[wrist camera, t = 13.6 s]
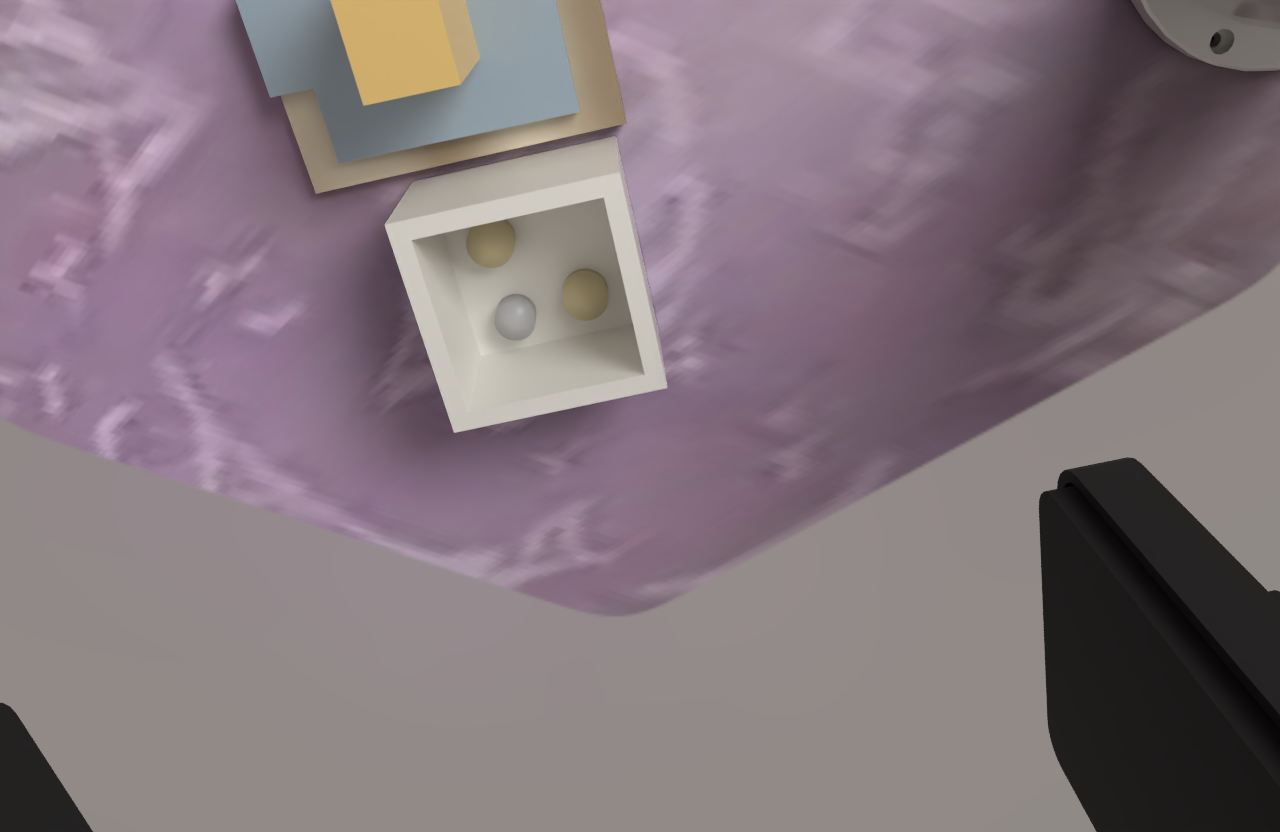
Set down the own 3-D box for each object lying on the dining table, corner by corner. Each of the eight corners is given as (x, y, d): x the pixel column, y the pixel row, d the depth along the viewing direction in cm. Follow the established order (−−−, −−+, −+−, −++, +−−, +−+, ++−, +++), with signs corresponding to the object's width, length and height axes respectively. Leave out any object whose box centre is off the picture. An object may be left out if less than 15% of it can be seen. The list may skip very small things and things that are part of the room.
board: (554, -215, 34) (553, -218, 33) (625, 119, 38) (626, 123, 38) (207, -130, 34) (198, -130, 34) (320, 188, 39) (315, 193, 38)
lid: (519, -169, 33) (502, -186, 27) (579, 108, 37) (577, 147, 31) (209, -98, 34) (126, -99, 28) (301, 167, 38) (247, 217, 32)
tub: (615, 135, 39) (619, 172, 33) (658, 327, 42) (667, 387, 37) (412, 181, 39) (384, 224, 34) (471, 367, 43) (454, 432, 37)
